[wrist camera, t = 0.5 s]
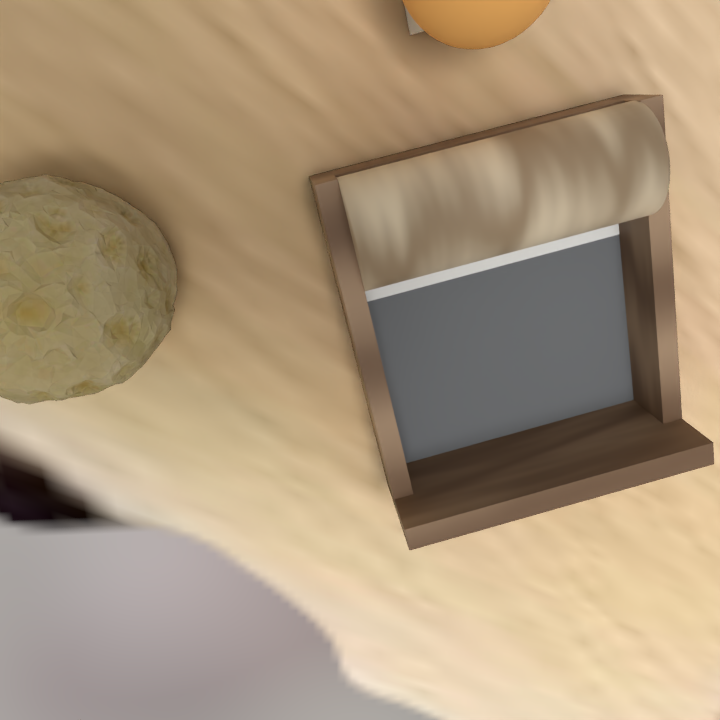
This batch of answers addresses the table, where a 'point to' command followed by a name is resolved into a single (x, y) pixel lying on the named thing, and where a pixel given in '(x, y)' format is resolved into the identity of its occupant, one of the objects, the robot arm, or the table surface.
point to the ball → (474, 20)
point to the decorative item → (77, 289)
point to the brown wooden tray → (505, 235)
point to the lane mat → (505, 343)
